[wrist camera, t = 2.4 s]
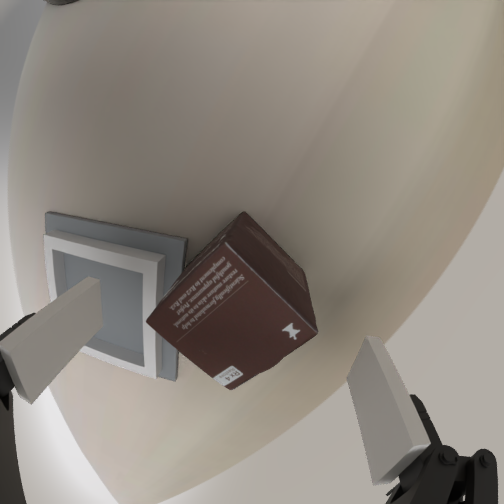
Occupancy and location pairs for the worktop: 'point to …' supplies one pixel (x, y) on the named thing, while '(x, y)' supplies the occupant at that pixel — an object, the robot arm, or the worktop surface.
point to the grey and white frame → (118, 286)
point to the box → (237, 306)
